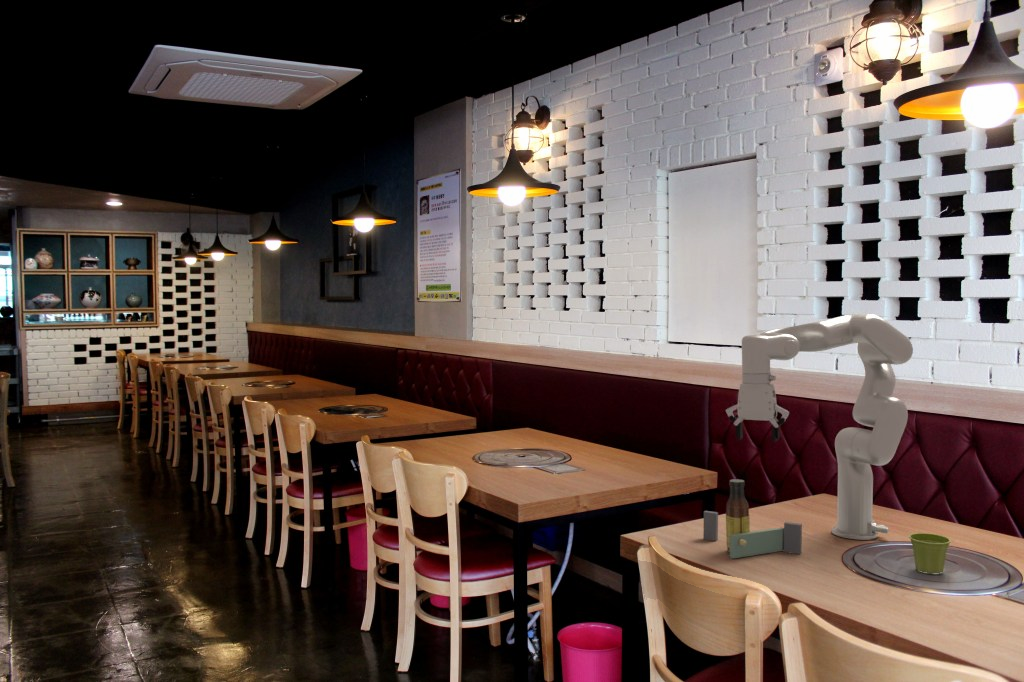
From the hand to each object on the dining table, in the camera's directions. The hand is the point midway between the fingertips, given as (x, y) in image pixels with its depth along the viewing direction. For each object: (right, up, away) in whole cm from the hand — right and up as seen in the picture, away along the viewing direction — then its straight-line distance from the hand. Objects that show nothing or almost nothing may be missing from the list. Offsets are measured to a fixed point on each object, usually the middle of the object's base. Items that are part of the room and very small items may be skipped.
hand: (757, 440), depth 225 cm
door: (-2, -30, -8) cm, 31 cm away
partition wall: (-2, -30, +1) cm, 30 cm away
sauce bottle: (-7, -30, -5) cm, 32 cm away
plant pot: (+37, -31, -21) cm, 53 cm away
